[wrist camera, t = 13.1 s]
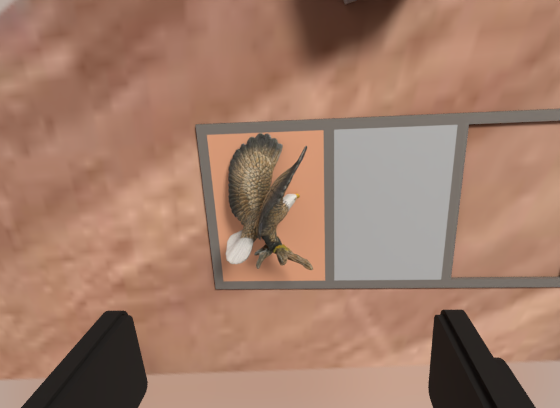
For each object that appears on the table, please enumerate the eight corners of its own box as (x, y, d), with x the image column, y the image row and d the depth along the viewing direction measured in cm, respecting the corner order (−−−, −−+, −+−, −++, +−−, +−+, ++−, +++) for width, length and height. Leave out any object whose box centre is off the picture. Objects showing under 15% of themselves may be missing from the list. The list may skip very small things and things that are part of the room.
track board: (611, 106, 26) (614, 106, 26) (568, 284, 31) (571, 287, 31) (196, 124, 29) (195, 124, 28) (216, 287, 34) (215, 289, 33)
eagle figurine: (339, 241, 30) (331, 134, 25) (289, 298, 25) (269, 178, 20) (264, 220, 34) (247, 125, 30) (209, 265, 29) (179, 160, 25)
